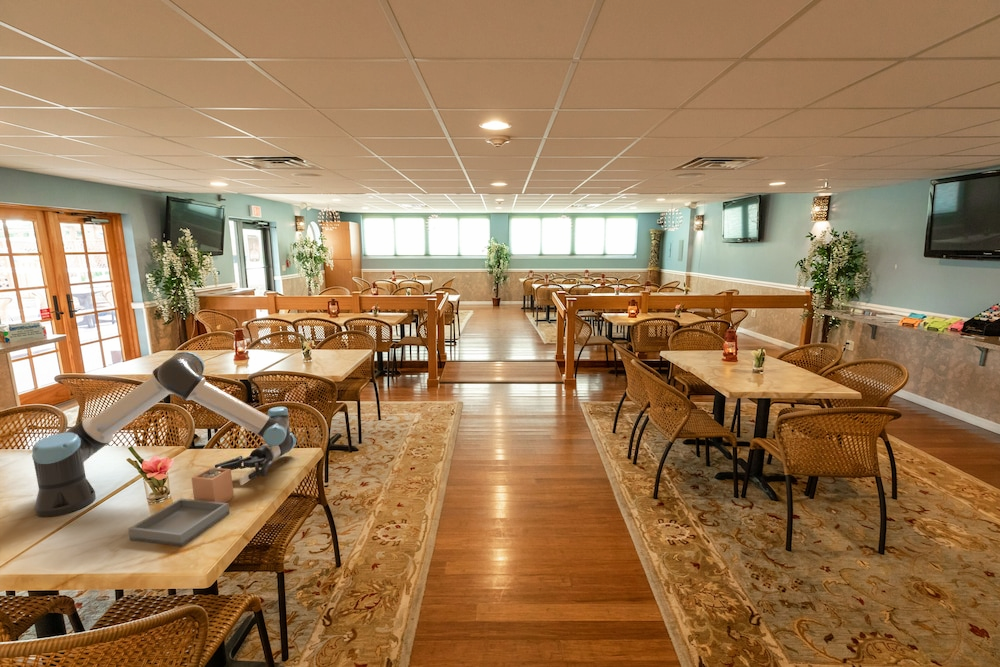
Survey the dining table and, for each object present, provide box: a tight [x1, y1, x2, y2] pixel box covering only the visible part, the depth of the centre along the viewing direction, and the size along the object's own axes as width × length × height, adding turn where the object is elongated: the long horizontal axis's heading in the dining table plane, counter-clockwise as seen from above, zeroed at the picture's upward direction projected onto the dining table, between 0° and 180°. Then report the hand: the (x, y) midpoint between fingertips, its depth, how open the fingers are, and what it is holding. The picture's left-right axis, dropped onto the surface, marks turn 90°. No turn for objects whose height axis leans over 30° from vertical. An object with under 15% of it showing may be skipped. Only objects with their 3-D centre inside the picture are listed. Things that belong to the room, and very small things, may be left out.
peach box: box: [191, 467, 234, 503], centre depth 160 cm, size 8×8×11 cm
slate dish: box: [128, 497, 230, 547], centre depth 145 cm, size 18×18×4 cm
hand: (223, 480), depth 163 cm, fingers open, 13 cm apart
